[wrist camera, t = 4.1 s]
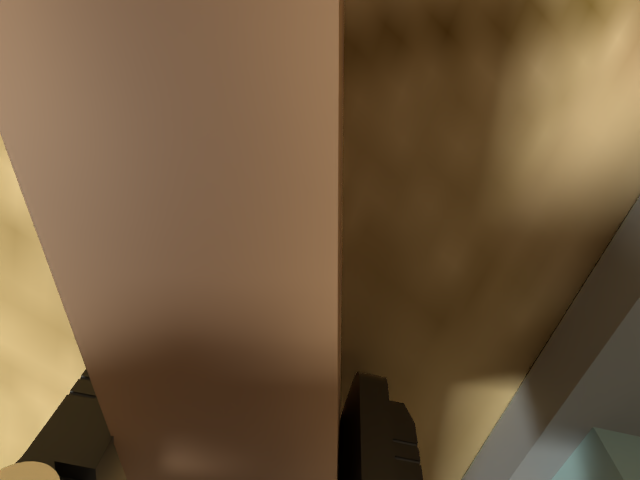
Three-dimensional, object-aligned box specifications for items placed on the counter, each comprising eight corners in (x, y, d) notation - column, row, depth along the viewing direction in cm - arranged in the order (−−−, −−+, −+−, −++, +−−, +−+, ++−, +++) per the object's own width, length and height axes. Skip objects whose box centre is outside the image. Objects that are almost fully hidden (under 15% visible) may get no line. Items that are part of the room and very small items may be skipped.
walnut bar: (242, 586, 18) (216, 725, 15) (48, -390, 6) (-406, -980, 2) (338, 592, 18) (335, 736, 14) (348, -414, 6) (343, -1121, 2)
